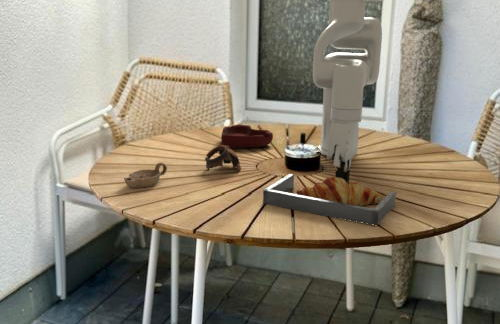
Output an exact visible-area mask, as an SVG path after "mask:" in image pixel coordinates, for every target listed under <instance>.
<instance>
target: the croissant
mask: <svg viewBox="0 0 500 324" xmlns="http://www.w3.org/2000/svg"><path fill="white" fill-rule="evenodd" d="M295 192H296V193H295V194H297V195H302V196H308V197H313V198H318V199H323V200H329V201H334V202H339V203H345V204H350V205H355V206H360V207H364V206H367V205H369V204H370V205H375V204H379V203H380V202H381V201H382V200H383V199H384V196H383V195H382V194H381V193H378V192H377V191H375V190H374V189H373V188H366V186H363V185H362V184H361V183H359V182H358V181H357V182H352V181H351V182H350V181H349V184H348V183H347V182H345V180H344V179H343V178H338V177H335V176H327V178H325V179H323V182H316V183H315V184H314V185H313V186H306V187H303V188H301V189H297V190H296V191H295Z"/></svg>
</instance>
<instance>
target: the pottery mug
mask: <svg viewBox="0 0 500 324" xmlns="http://www.w3.org/2000/svg"><path fill="white" fill-rule="evenodd" d="M215 154H218V156H216V157H214V158H211V157H213V156H215ZM204 161H205V165H206V166H205V167H206V169H207V170H208V171H209V170H210V169H213V168H214V169H215V168H217V167H221V168H223V167H224V165H223V164H225V165H226V164H228V165H229V164H230V163H231V164H232V167H233V168H237V170H238V171H237V172H238V173H240V172H241V171H242V166H241V162H240V159H239V157H238V155H237V153H236V152H235V151H234V149H230V147H229V146H227V145H222V144H221V145H217V146H216V147H213V148H212V149H211V150H209V151H208V152H207V153H206V157H204Z"/></svg>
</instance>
